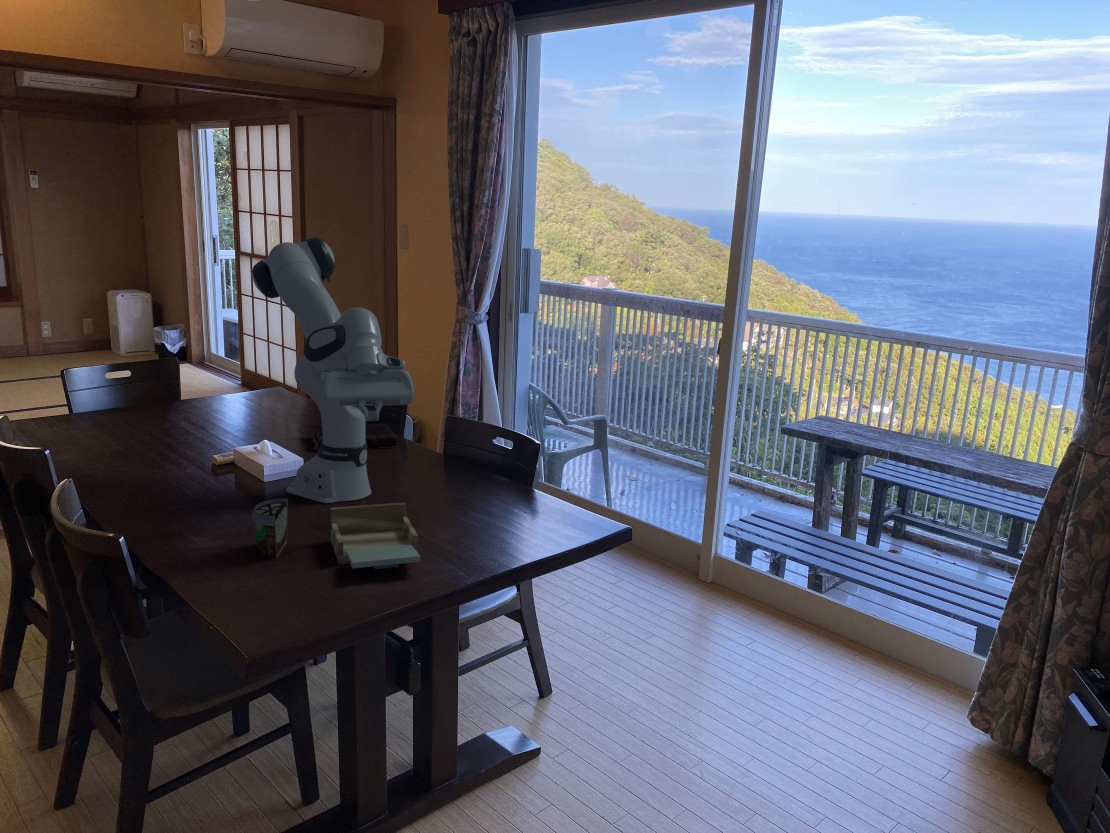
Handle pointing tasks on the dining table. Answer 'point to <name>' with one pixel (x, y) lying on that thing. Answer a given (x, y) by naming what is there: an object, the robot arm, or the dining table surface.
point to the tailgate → (382, 556)
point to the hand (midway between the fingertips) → (372, 419)
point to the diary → (367, 435)
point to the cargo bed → (370, 528)
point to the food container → (271, 526)
